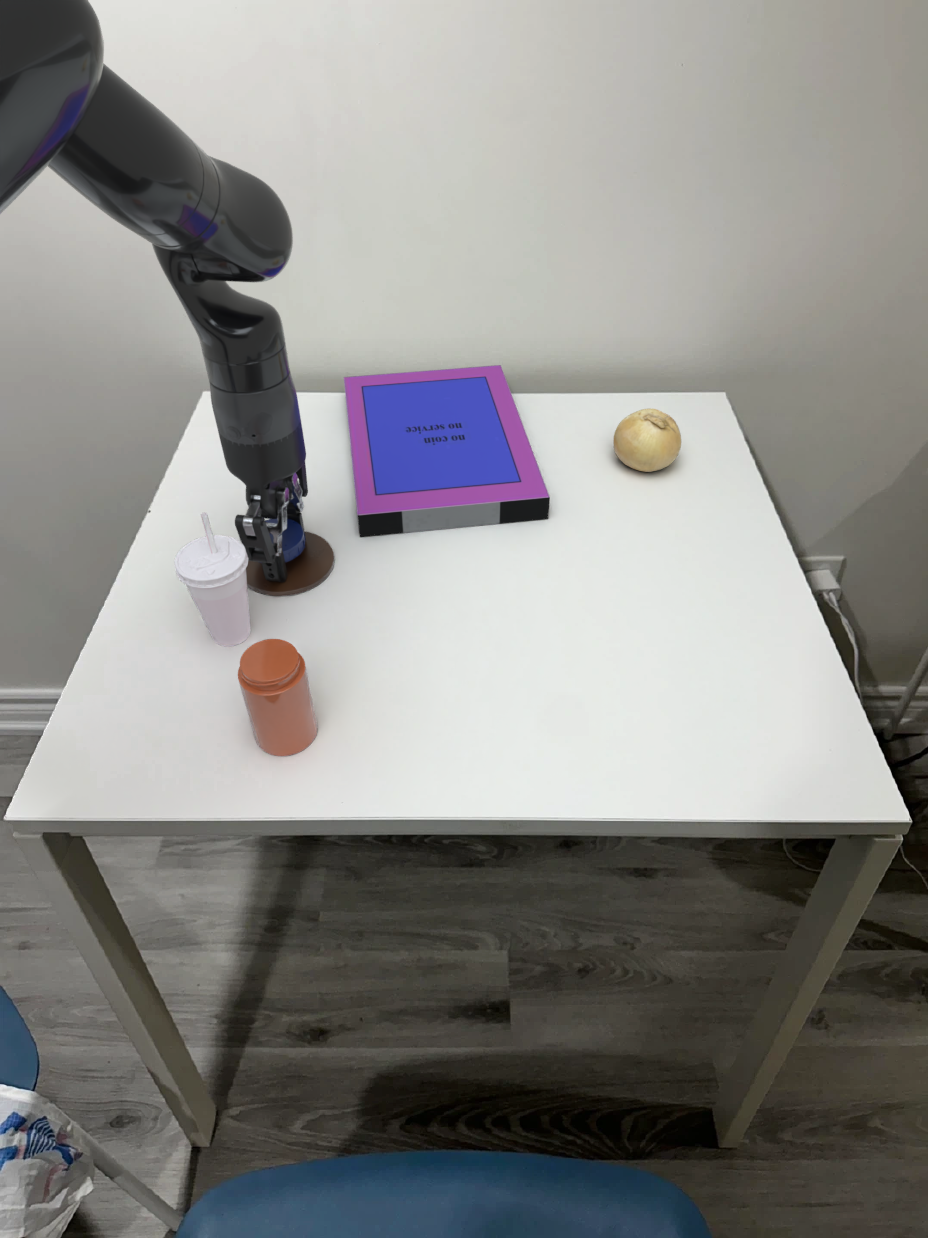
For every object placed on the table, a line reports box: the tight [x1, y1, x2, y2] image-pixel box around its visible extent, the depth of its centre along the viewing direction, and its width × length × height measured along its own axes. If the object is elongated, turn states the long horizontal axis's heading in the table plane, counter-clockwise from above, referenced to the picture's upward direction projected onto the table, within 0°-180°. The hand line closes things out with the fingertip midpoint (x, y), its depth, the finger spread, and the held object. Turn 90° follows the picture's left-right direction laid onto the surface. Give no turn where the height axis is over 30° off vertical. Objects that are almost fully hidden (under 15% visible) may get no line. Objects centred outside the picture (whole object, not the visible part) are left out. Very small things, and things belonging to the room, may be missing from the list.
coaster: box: [246, 530, 335, 597], centre depth 89 cm, size 10×10×1 cm
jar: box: [237, 638, 319, 757], centre depth 71 cm, size 5×5×9 cm
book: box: [343, 364, 551, 538], centre depth 103 cm, size 21×3×30 cm
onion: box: [612, 408, 682, 473], centre depth 100 cm, size 8×8×7 cm
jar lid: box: [260, 518, 306, 563], centre depth 88 cm, size 6×6×2 cm
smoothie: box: [173, 511, 252, 647], centre depth 77 cm, size 6×6×14 cm
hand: (286, 559), depth 89 cm, fingers closed on jar lid, 5 cm apart
